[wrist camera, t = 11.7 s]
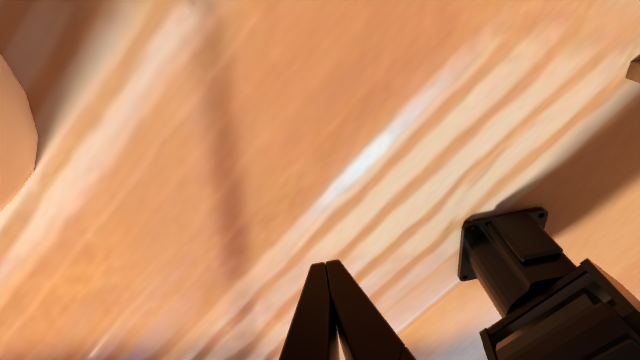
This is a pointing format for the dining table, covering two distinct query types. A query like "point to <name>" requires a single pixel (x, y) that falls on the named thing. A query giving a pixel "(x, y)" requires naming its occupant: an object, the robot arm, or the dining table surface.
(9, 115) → the canister
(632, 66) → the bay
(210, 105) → the dining table surface
